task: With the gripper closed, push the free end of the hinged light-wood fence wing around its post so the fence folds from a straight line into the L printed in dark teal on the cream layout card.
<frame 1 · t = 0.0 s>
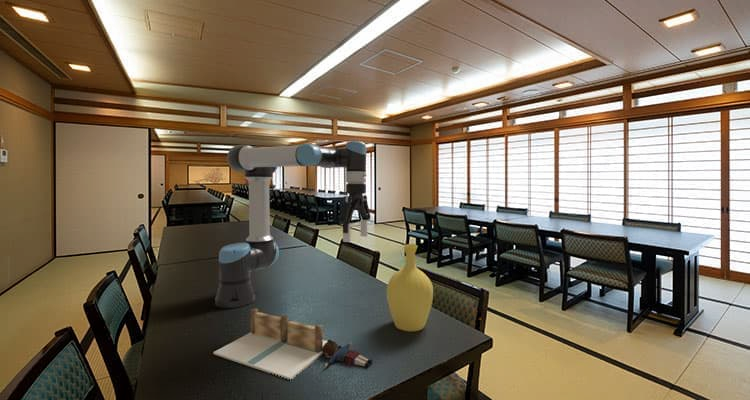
hand: (355, 239, 124), 28 cm above the table, fingers open, 13 cm apart
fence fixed: (303, 348, 97), resting on layout card
layout card: (275, 349, 97), on the table
toy: (346, 361, 92), on the table
vase: (409, 325, 114), on the table
fence wing: (269, 324, 103), point 5 cm above the table, hinge at 0.0°
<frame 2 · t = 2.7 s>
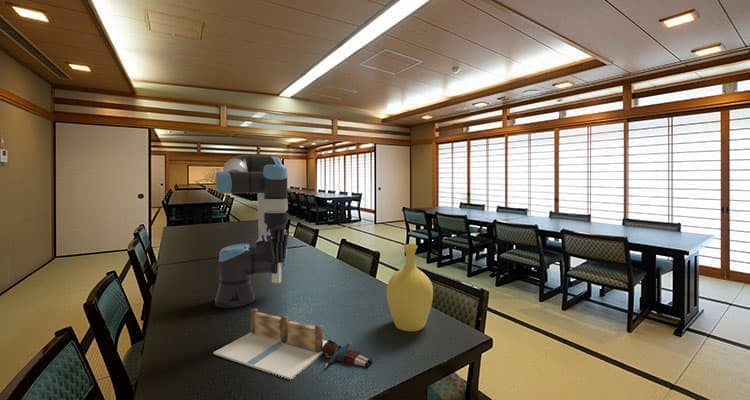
hand: (276, 282, 109), 16 cm above the table, fingers closed
nothing on the table moved.
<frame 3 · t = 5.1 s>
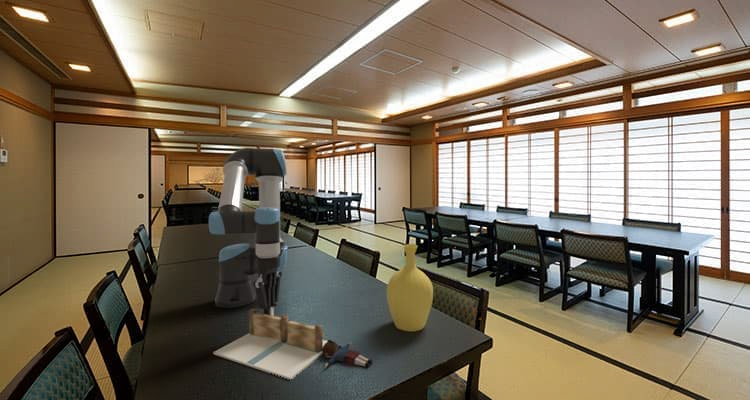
hand: (269, 326, 106), 2 cm above the table, fingers closed
fence wing: (268, 324, 102), point 5 cm above the table, hinge at 2.8°, touching gripper
everything else where it was.
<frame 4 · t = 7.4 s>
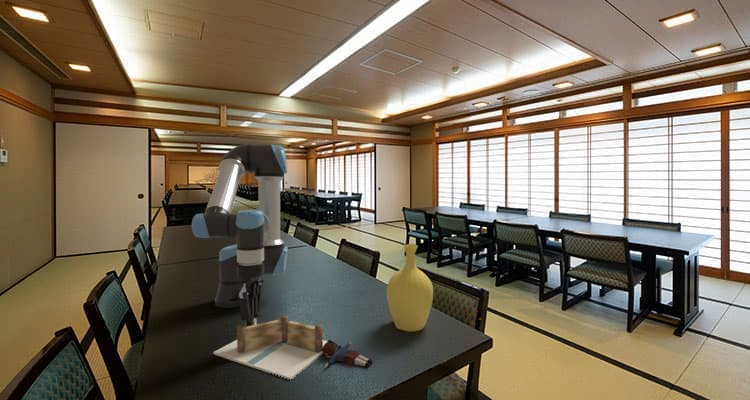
hand: (251, 339, 98), 2 cm above the table, fingers closed
fence wing: (263, 333, 97), point 5 cm above the table, hinge at 57.2°, touching gripper
everything else where it was.
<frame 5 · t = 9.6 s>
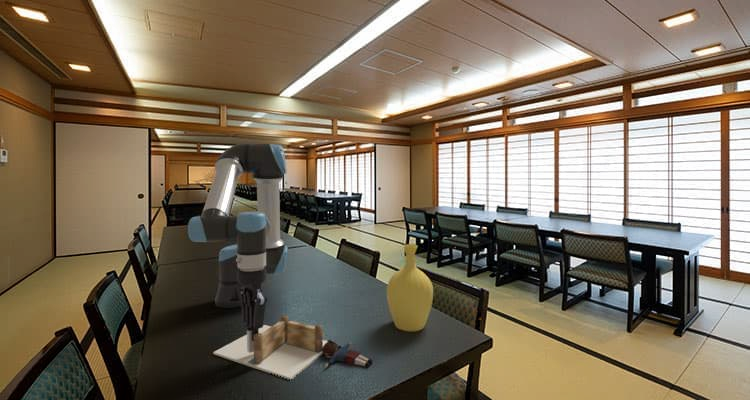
hand: (253, 350, 92), 2 cm above the table, fingers closed
fence wing: (272, 337, 94), point 5 cm above the table, hinge at 97.1°
everything else where it was.
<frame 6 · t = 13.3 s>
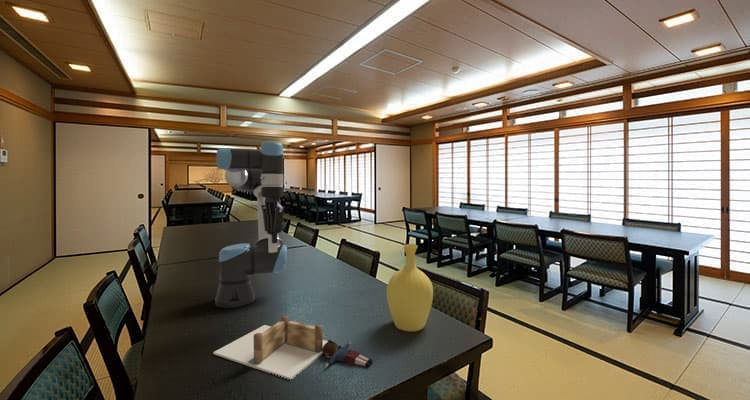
hand: (272, 251, 117), 24 cm above the table, fingers closed
nothing on the table moved.
at the end: fence wing at +97° (first picture: +0°) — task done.
